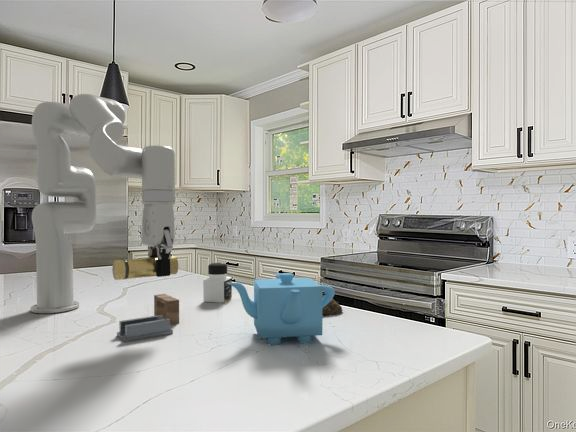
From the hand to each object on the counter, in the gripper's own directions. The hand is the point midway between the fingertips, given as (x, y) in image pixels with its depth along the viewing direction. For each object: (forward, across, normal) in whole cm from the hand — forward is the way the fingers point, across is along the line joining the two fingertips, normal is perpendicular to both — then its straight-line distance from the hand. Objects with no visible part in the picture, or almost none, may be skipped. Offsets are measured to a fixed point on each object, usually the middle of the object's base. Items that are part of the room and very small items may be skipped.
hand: (159, 274), depth 103 cm
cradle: (+14, 0, -4) cm, 14 cm away
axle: (0, 0, -3) cm, 3 cm away
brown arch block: (+14, -10, +6) cm, 18 cm away
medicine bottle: (+14, -24, +28) cm, 39 cm away
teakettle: (+14, +21, +21) cm, 33 cm away
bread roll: (+15, +7, +45) cm, 48 cm away
